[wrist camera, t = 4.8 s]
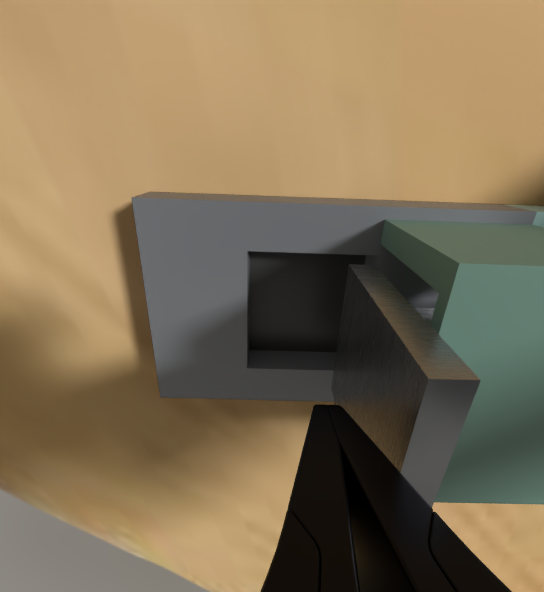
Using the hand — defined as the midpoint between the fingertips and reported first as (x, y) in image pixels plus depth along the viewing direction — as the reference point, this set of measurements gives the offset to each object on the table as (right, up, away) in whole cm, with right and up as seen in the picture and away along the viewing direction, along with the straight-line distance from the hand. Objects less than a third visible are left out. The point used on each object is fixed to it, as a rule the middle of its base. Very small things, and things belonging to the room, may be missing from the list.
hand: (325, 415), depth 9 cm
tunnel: (+6, +2, +6) cm, 8 cm away
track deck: (+4, +3, +7) cm, 9 cm away
